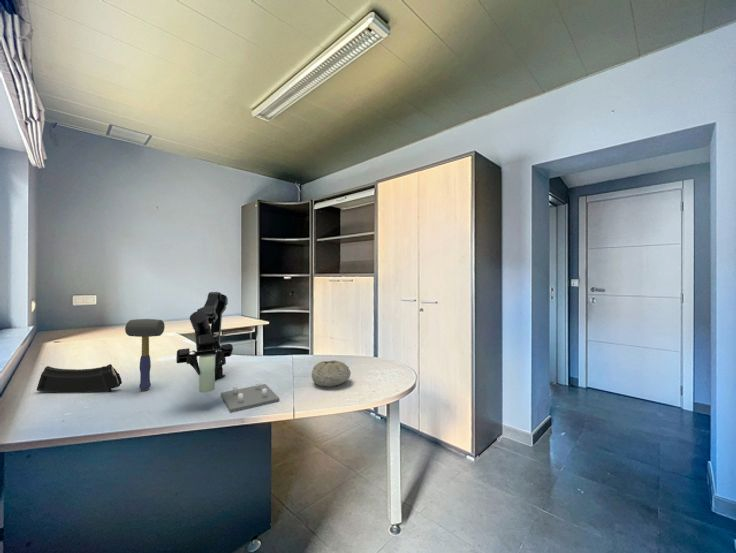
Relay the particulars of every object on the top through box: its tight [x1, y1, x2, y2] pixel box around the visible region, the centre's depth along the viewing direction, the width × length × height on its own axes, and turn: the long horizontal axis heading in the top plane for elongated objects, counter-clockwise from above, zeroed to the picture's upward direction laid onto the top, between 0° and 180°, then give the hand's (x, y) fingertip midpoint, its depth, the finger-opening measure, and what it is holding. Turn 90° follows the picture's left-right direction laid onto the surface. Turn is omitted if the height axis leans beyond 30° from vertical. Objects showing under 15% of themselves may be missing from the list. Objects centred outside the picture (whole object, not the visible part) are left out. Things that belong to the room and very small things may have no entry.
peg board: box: [220, 381, 280, 413], centre depth 124 cm, size 18×18×4 cm
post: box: [198, 354, 216, 393], centre depth 115 cm, size 5×5×12 cm
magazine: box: [35, 363, 123, 394], centre depth 127 cm, size 17×3×30 cm
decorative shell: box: [311, 360, 352, 387], centre depth 142 cm, size 18×18×10 cm
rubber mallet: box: [124, 318, 165, 391], centre depth 130 cm, size 12×8×30 cm, turn 96°
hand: (207, 373), depth 113 cm, fingers closed on post, 5 cm apart
